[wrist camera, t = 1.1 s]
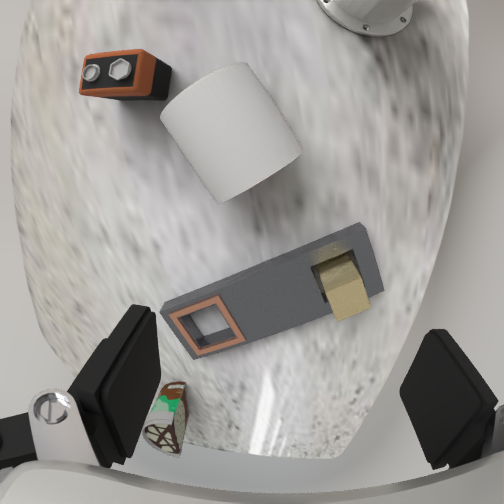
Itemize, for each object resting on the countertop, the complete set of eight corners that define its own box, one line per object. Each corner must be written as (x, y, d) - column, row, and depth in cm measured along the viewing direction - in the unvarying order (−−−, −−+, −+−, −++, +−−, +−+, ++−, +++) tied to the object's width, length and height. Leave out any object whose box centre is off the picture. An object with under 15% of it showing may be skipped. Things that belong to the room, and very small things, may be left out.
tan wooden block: (344, 248, 37) (361, 277, 29) (353, 274, 38) (370, 307, 31) (314, 261, 37) (325, 292, 30) (325, 286, 39) (336, 321, 31)
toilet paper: (298, 147, 32) (310, 152, 23) (223, 192, 35) (208, 214, 26) (251, 74, 29) (244, 51, 20) (177, 122, 32) (144, 119, 23)
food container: (150, 370, 46) (131, 413, 37) (185, 376, 46) (171, 422, 37) (159, 412, 51) (146, 452, 42) (189, 418, 51) (179, 459, 42)
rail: (359, 222, 35) (366, 229, 33) (378, 281, 38) (385, 291, 36) (164, 302, 41) (158, 313, 38) (196, 349, 44) (193, 361, 41)
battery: (168, 100, 31) (132, 91, 22) (117, 100, 31) (71, 95, 22) (173, 66, 29) (140, 45, 20) (122, 67, 29) (78, 52, 20)
